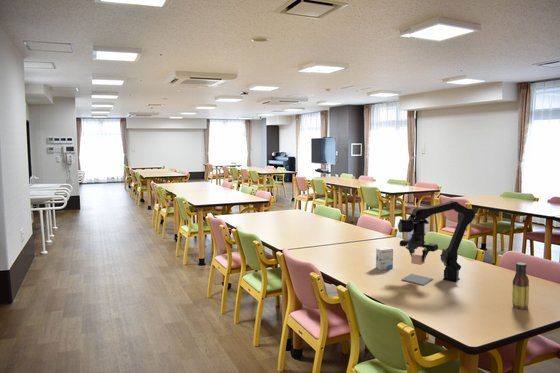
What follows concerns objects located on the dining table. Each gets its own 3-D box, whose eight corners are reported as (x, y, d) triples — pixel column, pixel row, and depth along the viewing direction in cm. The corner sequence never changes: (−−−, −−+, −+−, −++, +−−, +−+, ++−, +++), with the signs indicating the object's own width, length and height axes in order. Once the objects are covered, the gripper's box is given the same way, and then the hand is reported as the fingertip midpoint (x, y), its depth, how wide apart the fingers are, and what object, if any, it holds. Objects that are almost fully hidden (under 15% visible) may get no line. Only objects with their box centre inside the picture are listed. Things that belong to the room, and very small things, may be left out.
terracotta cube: (424, 262, 216) (424, 253, 216) (420, 265, 212) (420, 255, 212) (415, 261, 220) (415, 251, 219) (411, 263, 216) (411, 253, 215)
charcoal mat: (433, 279, 217) (433, 278, 217) (423, 285, 209) (423, 284, 209) (411, 274, 225) (411, 273, 225) (401, 280, 217) (401, 279, 217)
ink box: (388, 266, 241) (389, 246, 240) (393, 268, 236) (393, 248, 235) (375, 267, 239) (375, 247, 238) (379, 270, 234) (380, 250, 233)
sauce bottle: (522, 304, 184) (525, 261, 181) (531, 310, 177) (534, 265, 175) (508, 304, 183) (510, 261, 181) (516, 310, 177) (519, 265, 175)
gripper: (394, 232, 215) (394, 261, 216) (430, 237, 202) (429, 268, 204) (404, 228, 223) (404, 256, 224) (438, 233, 210) (438, 263, 212)
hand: (418, 261), depth 216 cm, fingers closed on terracotta cube, 5 cm apart
